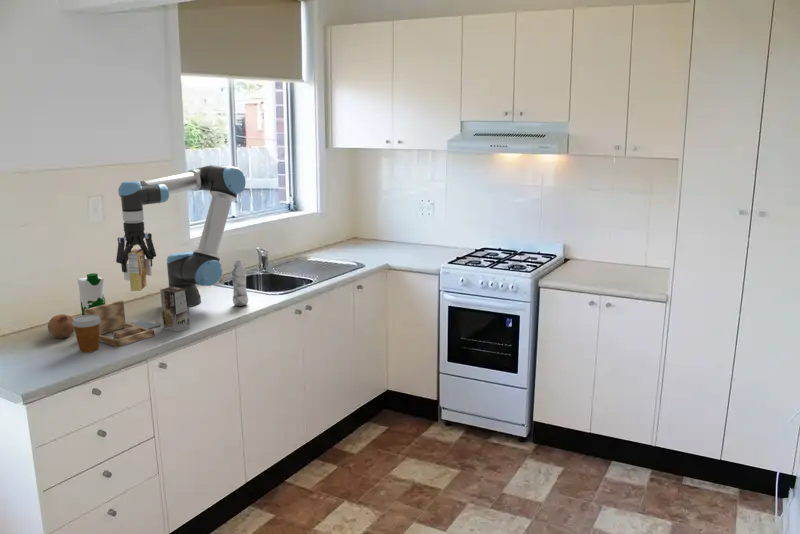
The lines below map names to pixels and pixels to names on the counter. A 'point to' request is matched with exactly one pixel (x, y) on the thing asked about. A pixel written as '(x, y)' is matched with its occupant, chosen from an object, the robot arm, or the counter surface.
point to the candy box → (137, 269)
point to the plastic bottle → (239, 284)
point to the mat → (146, 324)
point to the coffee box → (175, 308)
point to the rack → (116, 323)
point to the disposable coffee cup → (87, 332)
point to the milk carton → (91, 291)
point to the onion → (61, 326)
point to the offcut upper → (126, 332)
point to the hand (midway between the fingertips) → (138, 277)
